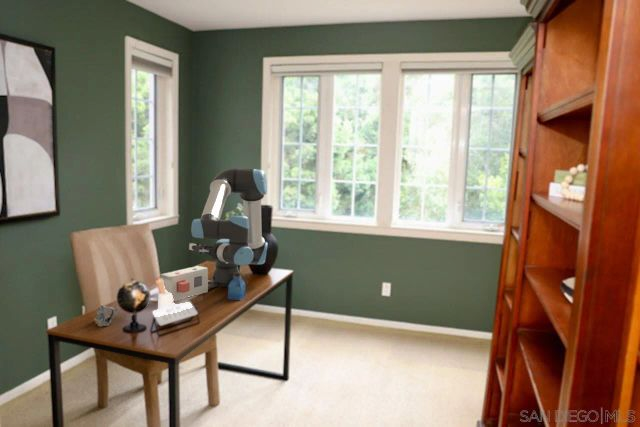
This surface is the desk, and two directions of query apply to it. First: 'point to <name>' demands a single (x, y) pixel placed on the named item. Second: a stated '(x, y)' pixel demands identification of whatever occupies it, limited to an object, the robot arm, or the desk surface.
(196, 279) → the button
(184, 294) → the push button box
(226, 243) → the robot arm
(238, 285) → the perfume bottle
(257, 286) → the desk surface
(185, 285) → the button
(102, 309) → the mineral specimen
